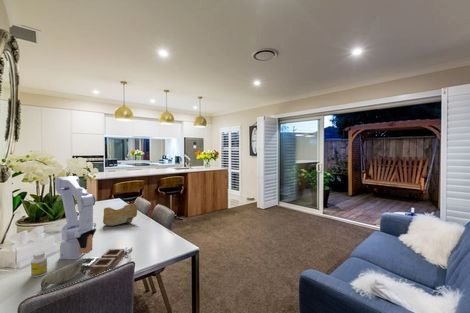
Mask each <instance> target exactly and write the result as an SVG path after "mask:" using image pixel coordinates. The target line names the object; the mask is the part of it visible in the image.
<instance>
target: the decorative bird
mask: <svg viewBox="0 0 470 313" xmlns="http://www.w3.org/2000/svg"><path fill="white" fill-rule="evenodd" d="M77 261H78V262H77ZM77 261H75V262H74V263H70V264H68V265H65V266H63V267H61V268H59V269H57V270H55V271H51V272H49V273H46V275H44V277H43V278H42V279H41V282H40V289H41V291H43V290H45V289H46V288H47V287H48V286H50V285H59V284H62V283H66V282H67V281H69V280H70V279H72V278H73V277H76V276H77V275H78V274H79V273H81V274H83V275H86V274H87V270H88V269H84V268H83V269H81V266H82V264H84V263H85V261H86V258H85V259H82V260H80V259H78V260H77Z"/></svg>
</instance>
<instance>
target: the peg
mask: <svg viewBox="0 0 470 313" xmlns="http://www.w3.org/2000/svg"><path fill="white" fill-rule="evenodd" d="M92 251H93V238H92V234H89V236H88V239H87V244H86V248H80V244H79V254H80V253H85V254H89V253H90V252H92Z"/></svg>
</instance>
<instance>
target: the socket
mask: <svg viewBox="0 0 470 313" xmlns="http://www.w3.org/2000/svg"><path fill="white" fill-rule="evenodd" d="M85 258H86V261H85V262H86V264H84V263H85V262H84V263H82V266H81V269H80V270H83V268H84V270H86V269H87V270H88V269H89V270H90V266H91V265H92V264H94V263H95V262H96V261H97V260H98V259H99V256H94V257H93V256H91V257H89V256H88V257H87V256H86V257H82V256H81V257H80V259H79V260H82V259H85ZM79 260H77V261H76V262H78V261H79ZM87 262H89V263H87Z"/></svg>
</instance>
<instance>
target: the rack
mask: <svg viewBox="0 0 470 313" xmlns="http://www.w3.org/2000/svg"><path fill="white" fill-rule="evenodd" d="M124 250H125V248H109V249H107V250H106V251H105V253H103V254H102V255H101V256H100V257H98V260H97V261H96V262H95V263H94V264H92V265H91V266H90V269H89V270H88V271H87V275H100V274H99V273H102V272H104V271H107V270H109V269H112V268H113V269H114V268H115V267H116V265H117V264H118V263H120V261H121V260H122V258H124V257H125V256H126V254H125V253H126V252H124ZM113 269H112V270H113Z"/></svg>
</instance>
